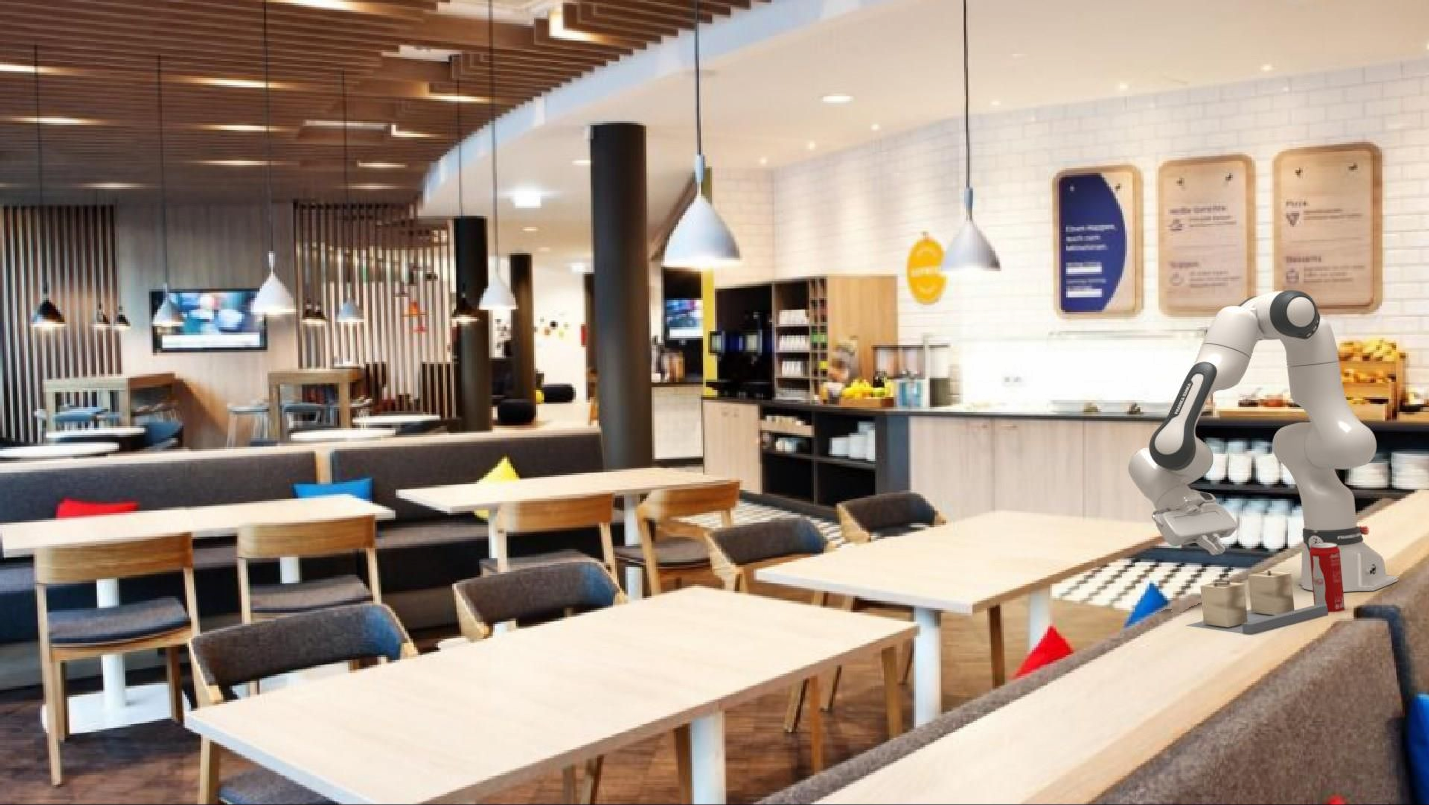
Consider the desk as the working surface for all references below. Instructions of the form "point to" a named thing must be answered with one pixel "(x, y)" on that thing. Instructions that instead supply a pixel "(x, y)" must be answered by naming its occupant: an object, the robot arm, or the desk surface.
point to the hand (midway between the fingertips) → (1219, 552)
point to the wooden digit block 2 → (1224, 603)
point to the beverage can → (1327, 576)
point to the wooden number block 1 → (1271, 592)
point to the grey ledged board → (1270, 620)
